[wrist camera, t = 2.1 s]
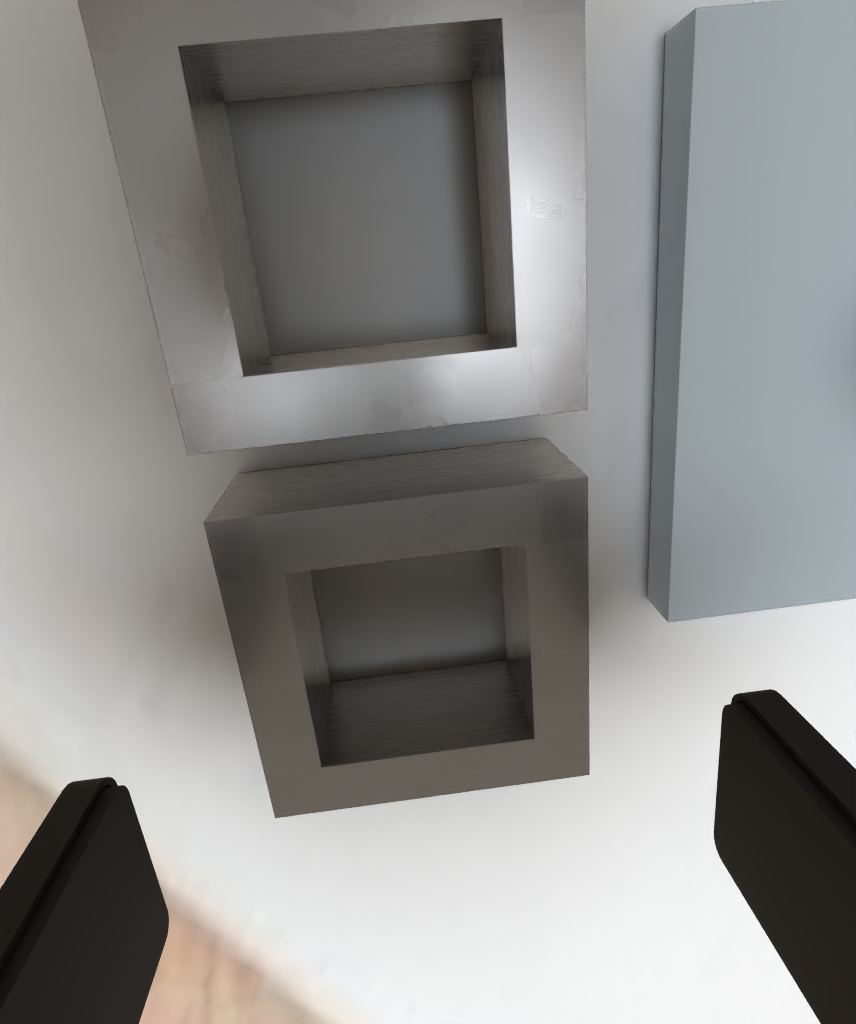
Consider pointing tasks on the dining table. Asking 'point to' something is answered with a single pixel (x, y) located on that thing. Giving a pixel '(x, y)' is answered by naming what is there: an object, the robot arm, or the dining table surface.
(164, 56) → the link
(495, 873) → the dining table surface
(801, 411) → the keeper
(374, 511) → the end link
